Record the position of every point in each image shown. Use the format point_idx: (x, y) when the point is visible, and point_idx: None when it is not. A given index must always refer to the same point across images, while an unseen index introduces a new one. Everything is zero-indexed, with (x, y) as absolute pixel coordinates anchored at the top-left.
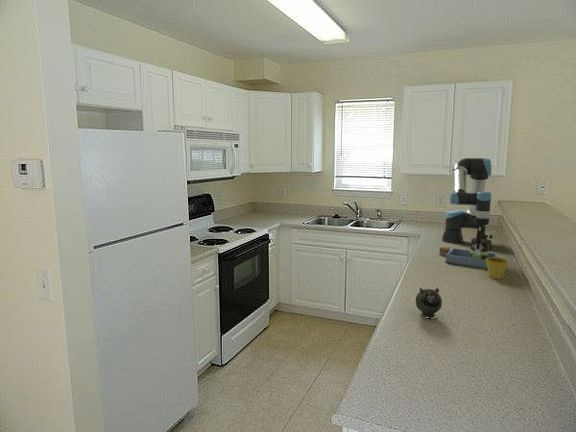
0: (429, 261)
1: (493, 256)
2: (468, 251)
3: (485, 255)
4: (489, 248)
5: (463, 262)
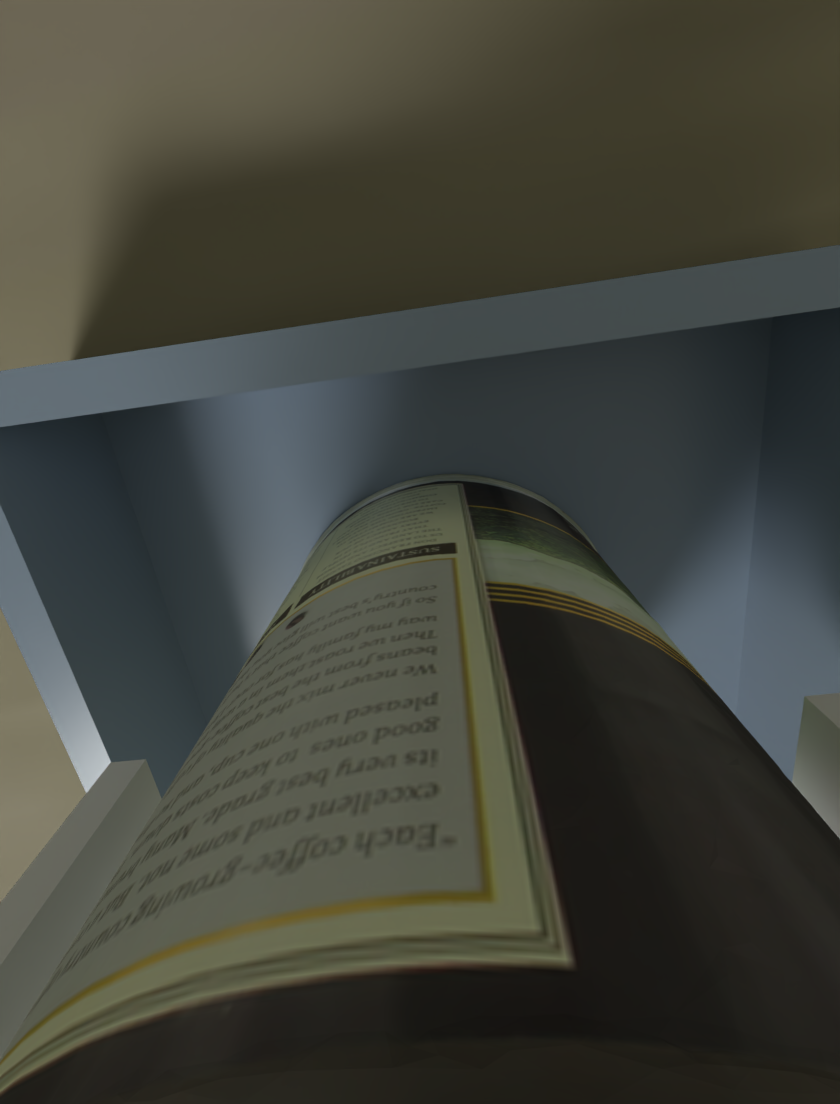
0: None
1: (49, 466)
2: None
3: (602, 576)
4: None
5: None
